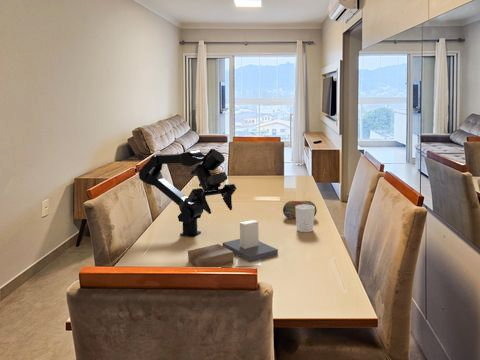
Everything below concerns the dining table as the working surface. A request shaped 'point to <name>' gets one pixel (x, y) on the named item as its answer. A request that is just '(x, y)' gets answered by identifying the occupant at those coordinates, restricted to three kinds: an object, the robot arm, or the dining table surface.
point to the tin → (290, 208)
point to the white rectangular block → (249, 234)
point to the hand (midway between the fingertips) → (221, 211)
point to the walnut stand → (210, 256)
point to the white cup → (305, 217)
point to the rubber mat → (251, 250)
